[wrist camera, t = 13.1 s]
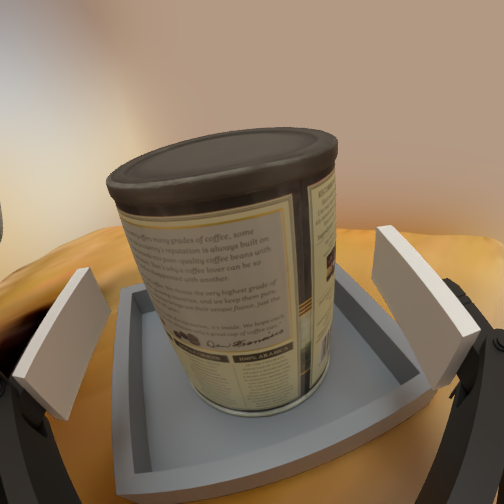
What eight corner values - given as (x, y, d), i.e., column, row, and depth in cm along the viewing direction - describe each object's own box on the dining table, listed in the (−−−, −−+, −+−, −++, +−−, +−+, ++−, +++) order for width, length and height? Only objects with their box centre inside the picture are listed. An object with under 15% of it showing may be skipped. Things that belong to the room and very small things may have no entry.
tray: (145, 506, 10) (116, 494, 9) (133, 315, 26) (120, 288, 24) (428, 404, 14) (446, 376, 12) (310, 265, 29) (309, 237, 28)
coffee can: (191, 315, 24) (143, 148, 17) (312, 298, 24) (304, 122, 16) (179, 424, 15) (59, 208, 8) (347, 403, 15) (384, 155, 8)
